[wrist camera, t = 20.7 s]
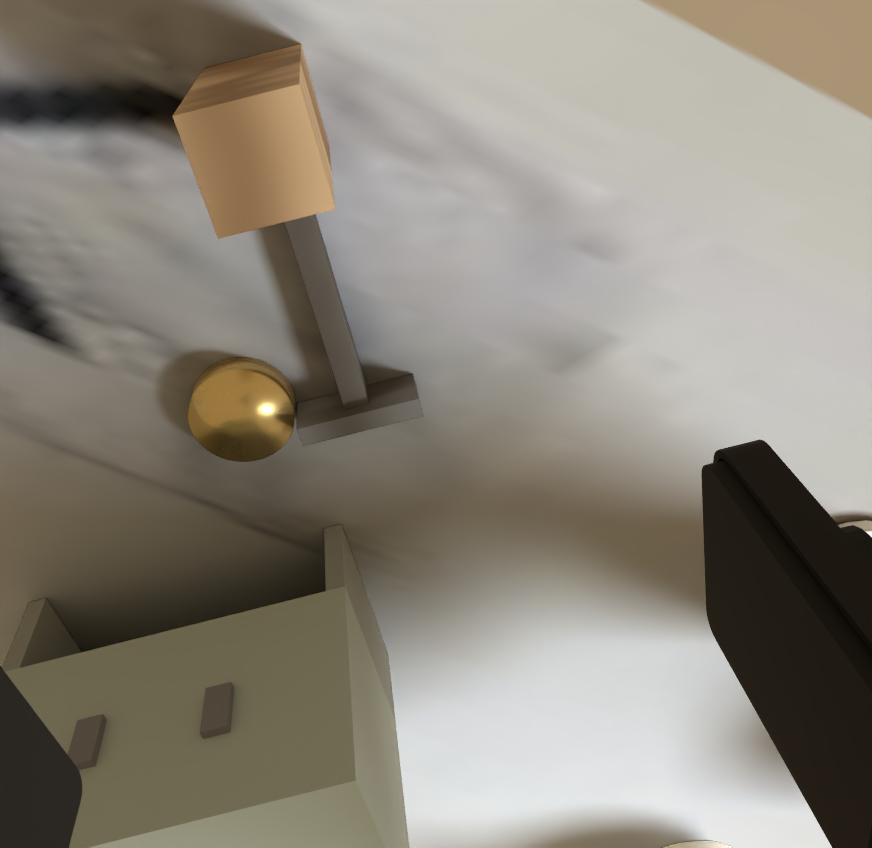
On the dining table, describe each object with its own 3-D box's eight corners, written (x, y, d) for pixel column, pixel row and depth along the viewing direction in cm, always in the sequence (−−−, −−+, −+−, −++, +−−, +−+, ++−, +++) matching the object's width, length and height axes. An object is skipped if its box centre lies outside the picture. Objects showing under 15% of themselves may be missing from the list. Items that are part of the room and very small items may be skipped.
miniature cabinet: (339, 518, 45) (352, 773, 32) (388, 654, 52) (416, 916, 38) (24, 597, 45) (-95, 885, 32) (111, 723, 52) (42, 1010, 38)
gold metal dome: (313, 385, 41) (313, 403, 39) (264, 457, 43) (262, 476, 41) (222, 337, 39) (218, 354, 37) (175, 414, 41) (169, 434, 39)
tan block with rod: (325, 37, 33) (331, 76, 25) (417, 390, 42) (441, 496, 34) (179, 74, 33) (140, 123, 25) (303, 419, 42) (302, 531, 34)
